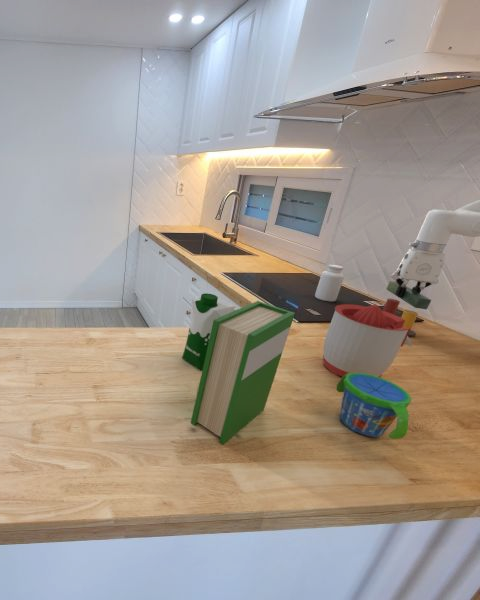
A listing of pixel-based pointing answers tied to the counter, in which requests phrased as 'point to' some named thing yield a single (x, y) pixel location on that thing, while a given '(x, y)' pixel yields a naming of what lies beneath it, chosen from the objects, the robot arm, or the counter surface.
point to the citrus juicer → (363, 340)
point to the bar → (410, 296)
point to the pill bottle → (330, 283)
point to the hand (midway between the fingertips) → (405, 297)
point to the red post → (391, 306)
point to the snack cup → (373, 405)
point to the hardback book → (240, 367)
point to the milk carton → (203, 327)
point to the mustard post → (409, 321)
